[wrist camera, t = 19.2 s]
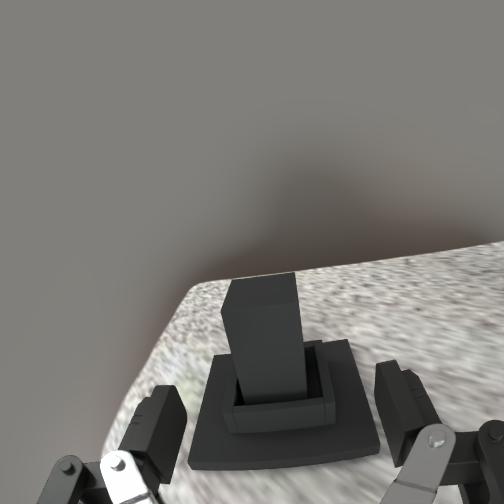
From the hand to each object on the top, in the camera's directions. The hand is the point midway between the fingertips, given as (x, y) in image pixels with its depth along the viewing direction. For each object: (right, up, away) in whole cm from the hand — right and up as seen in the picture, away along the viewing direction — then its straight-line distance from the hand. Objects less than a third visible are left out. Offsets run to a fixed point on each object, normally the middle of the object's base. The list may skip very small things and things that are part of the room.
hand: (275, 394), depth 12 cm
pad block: (+1, -7, +14) cm, 16 cm away
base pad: (+2, -8, +14) cm, 16 cm away
